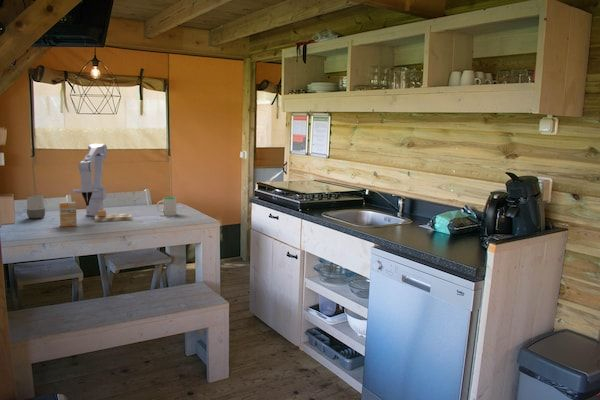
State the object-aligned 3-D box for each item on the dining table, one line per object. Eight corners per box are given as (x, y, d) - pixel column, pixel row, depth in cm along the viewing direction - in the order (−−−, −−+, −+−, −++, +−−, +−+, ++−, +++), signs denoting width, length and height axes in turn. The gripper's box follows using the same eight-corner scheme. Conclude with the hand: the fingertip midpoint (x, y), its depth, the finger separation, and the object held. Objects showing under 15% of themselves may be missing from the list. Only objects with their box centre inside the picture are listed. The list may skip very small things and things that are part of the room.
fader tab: (98, 216, 282) (98, 211, 281) (98, 215, 285) (98, 210, 285) (105, 216, 283) (105, 211, 283) (105, 214, 287) (105, 209, 286)
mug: (158, 216, 299) (158, 199, 297) (155, 214, 306) (155, 197, 304) (178, 214, 305) (177, 198, 303) (174, 212, 312) (174, 196, 310)
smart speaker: (40, 216, 292) (38, 193, 290) (48, 217, 287) (47, 194, 285) (24, 218, 284) (22, 194, 282) (32, 220, 279) (31, 196, 277)
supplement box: (60, 227, 263) (59, 203, 261) (60, 225, 268) (59, 202, 266) (77, 225, 267) (76, 202, 265) (76, 224, 271) (75, 201, 269)
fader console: (94, 221, 279) (94, 218, 278) (94, 218, 288) (94, 215, 287) (131, 219, 286) (131, 216, 286) (130, 216, 295) (130, 213, 295)
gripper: (72, 183, 272) (73, 207, 274) (100, 182, 277) (101, 205, 279) (72, 181, 278) (74, 205, 280) (100, 181, 284) (101, 204, 286)
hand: (87, 205), depth 280 cm, fingers closed
